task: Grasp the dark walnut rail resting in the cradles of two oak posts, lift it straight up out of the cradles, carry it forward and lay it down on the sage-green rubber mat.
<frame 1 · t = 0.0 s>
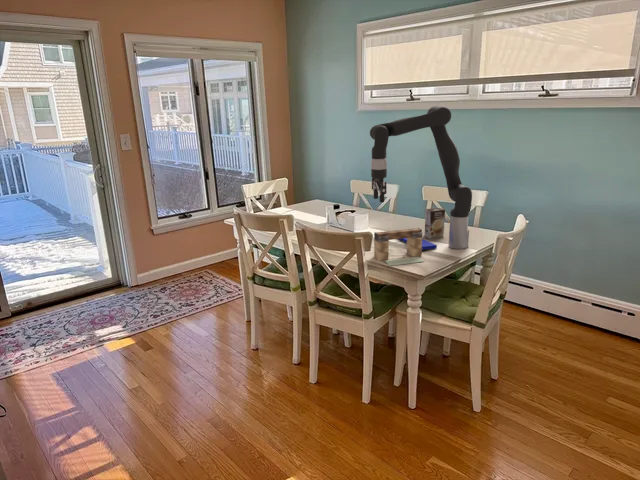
hand: (378, 200, 220), 29 cm above the table, tool pointing down, fingers open, 8 cm apart
post 1: (381, 258, 226), on the table
rail: (398, 237, 224), point 10 cm above the table, touching post 1, post 2
coffee box: (434, 236, 258), on the table
post 2: (414, 254, 229), on the table
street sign: (411, 242, 251), on the table
mat: (404, 261, 220), on the table
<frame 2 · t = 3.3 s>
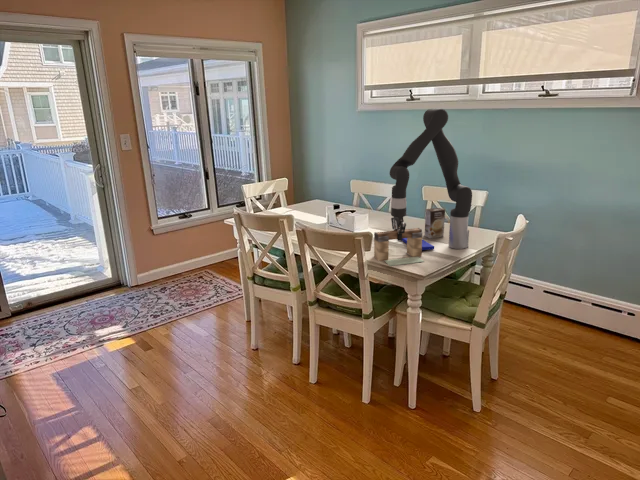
hand: (398, 239, 225), 9 cm above the table, tool pointing down, fingers closed on rail, 3 cm apart
rail: (398, 237, 224), point 10 cm above the table, touching gripper, post 1, post 2
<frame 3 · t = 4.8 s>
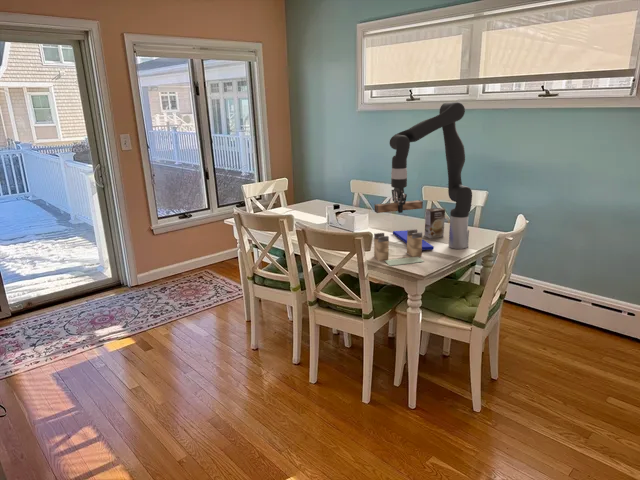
hand: (398, 211, 220), 24 cm above the table, tool pointing down, fingers closed on rail, 3 cm apart
rail: (398, 209, 220), point 24 cm above the table, touching gripper
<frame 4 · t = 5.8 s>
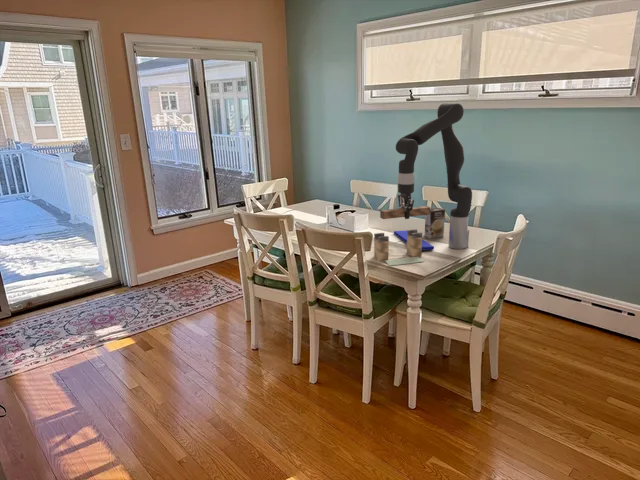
hand: (405, 217, 213), 23 cm above the table, tool pointing down, fingers closed on rail, 3 cm apart
rail: (405, 215, 213), point 23 cm above the table, touching gripper
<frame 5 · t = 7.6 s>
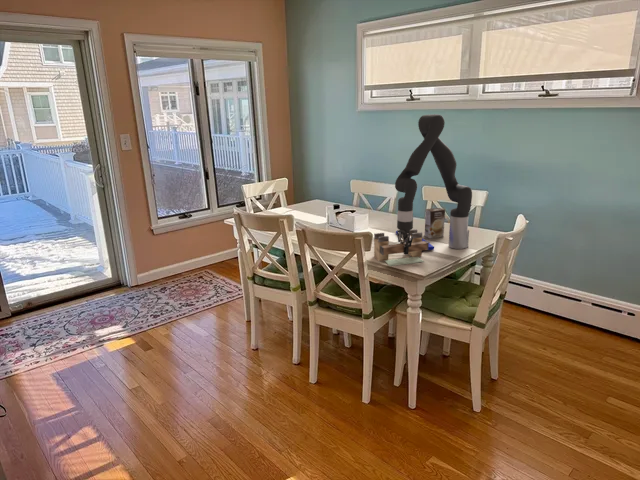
hand: (404, 252, 219), 5 cm above the table, tool pointing down, fingers closed on rail, 3 cm apart
rail: (404, 251, 218), point 5 cm above the table, touching gripper
when the fingers open (1 cm above the table, at t = 8.6 s): rail drops 2 cm, resting on mat.
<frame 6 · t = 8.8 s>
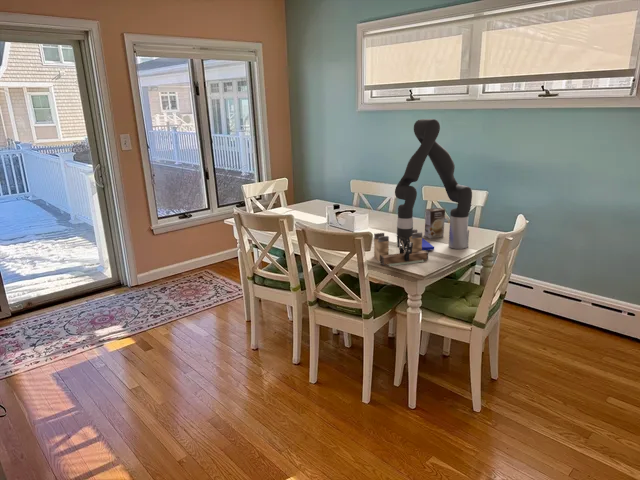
hand: (404, 258, 220), 1 cm above the table, tool pointing down, fingers open, 5 cm apart
rail: (404, 260, 220), resting on mat
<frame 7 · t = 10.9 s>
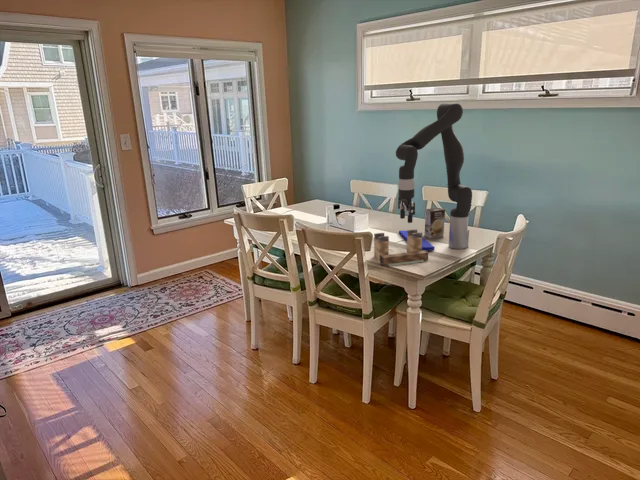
hand: (406, 220, 217), 20 cm above the table, tool pointing down, fingers open, 8 cm apart
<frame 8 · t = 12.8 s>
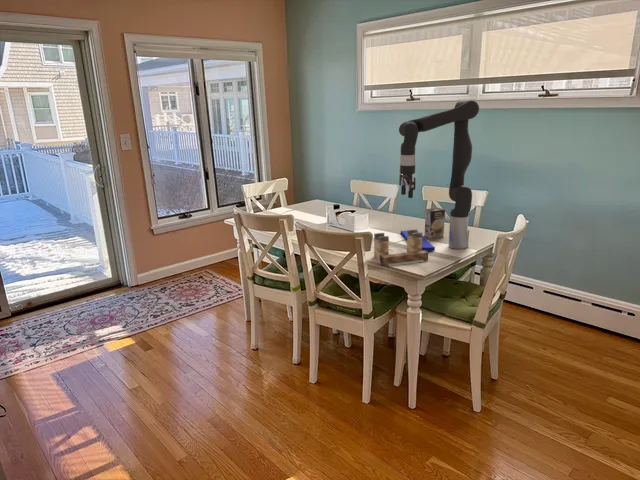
hand: (406, 196, 223), 30 cm above the table, tool pointing down, fingers open, 8 cm apart
at the end: rail inside the target area (0.0 cm from its centre), resting on mat; the gripper is holding nothing; rail touching mat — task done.
